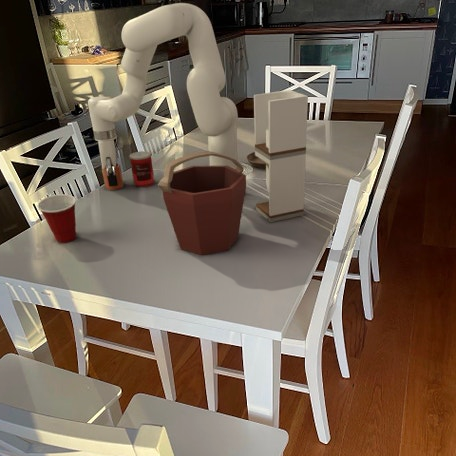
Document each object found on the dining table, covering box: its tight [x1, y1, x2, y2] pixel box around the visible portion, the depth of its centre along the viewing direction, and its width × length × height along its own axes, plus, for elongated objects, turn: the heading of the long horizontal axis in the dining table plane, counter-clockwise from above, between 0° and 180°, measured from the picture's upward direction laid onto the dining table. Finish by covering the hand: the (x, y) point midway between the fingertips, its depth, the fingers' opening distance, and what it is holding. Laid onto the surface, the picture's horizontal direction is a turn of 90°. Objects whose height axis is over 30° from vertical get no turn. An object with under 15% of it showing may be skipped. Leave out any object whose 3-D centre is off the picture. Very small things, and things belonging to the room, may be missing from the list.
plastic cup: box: [36, 193, 77, 244], centre depth 140 cm, size 11×11×12 cm
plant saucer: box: [246, 151, 266, 169], centre depth 191 cm, size 18×18×3 cm
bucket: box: [157, 150, 247, 256], centre depth 131 cm, size 24×22×25 cm
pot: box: [101, 162, 125, 191], centre depth 177 cm, size 7×7×8 cm
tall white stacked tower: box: [253, 89, 309, 223], centre depth 142 cm, size 11×11×35 cm
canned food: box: [129, 150, 155, 188], centre depth 177 cm, size 8×8×11 cm
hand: (114, 181), depth 178 cm, fingers open, 8 cm apart
